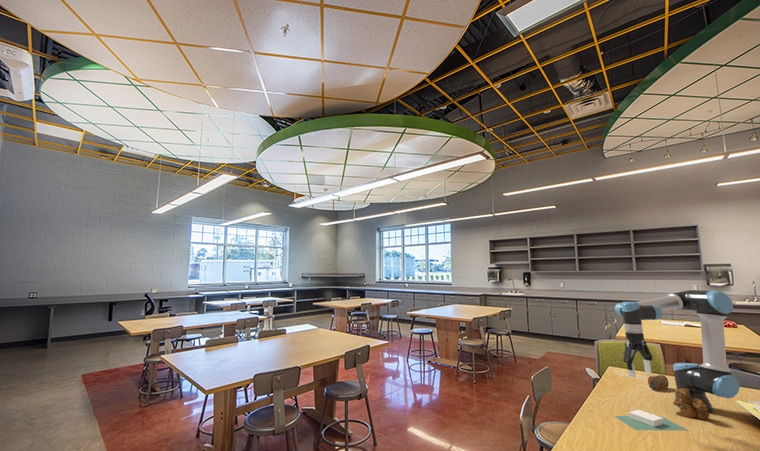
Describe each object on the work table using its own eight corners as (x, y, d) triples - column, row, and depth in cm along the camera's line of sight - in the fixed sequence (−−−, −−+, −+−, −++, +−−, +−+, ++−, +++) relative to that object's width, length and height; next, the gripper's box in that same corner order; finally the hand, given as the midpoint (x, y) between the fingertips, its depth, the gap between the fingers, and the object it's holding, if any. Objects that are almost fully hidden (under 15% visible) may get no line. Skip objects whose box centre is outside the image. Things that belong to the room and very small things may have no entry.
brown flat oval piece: (653, 391, 203) (651, 377, 205) (647, 389, 206) (645, 375, 208) (670, 388, 207) (667, 374, 209) (664, 387, 210) (662, 373, 212)
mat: (660, 416, 166) (660, 415, 166) (688, 431, 150) (688, 430, 150) (613, 416, 167) (613, 415, 167) (636, 431, 151) (636, 430, 151)
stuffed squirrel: (681, 410, 174) (676, 384, 176) (716, 420, 161) (711, 392, 164) (671, 413, 170) (667, 387, 172) (706, 424, 157) (701, 395, 159)
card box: (638, 409, 167) (663, 417, 157) (639, 415, 166) (664, 424, 156) (628, 412, 164) (653, 420, 154) (629, 418, 163) (654, 427, 153)
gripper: (640, 329, 175) (646, 370, 171) (611, 332, 166) (617, 376, 162) (656, 331, 168) (663, 373, 165) (626, 335, 159) (633, 380, 155)
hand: (640, 375), depth 163 cm, fingers open, 13 cm apart
